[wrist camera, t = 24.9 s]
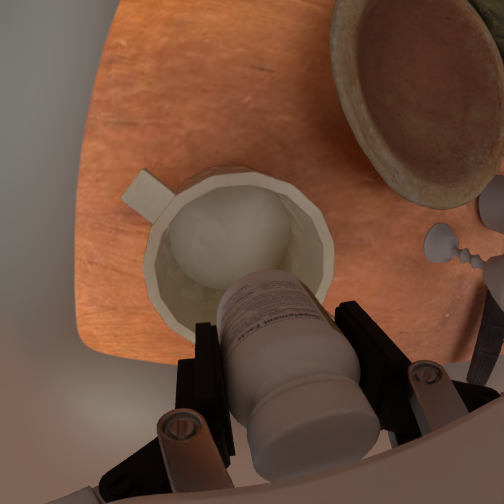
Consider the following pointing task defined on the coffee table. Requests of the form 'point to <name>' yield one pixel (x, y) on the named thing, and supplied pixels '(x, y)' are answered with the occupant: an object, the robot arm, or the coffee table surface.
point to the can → (493, 204)
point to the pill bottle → (291, 378)
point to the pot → (225, 239)
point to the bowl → (421, 95)
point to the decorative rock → (492, 19)
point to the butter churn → (487, 342)
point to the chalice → (465, 258)
